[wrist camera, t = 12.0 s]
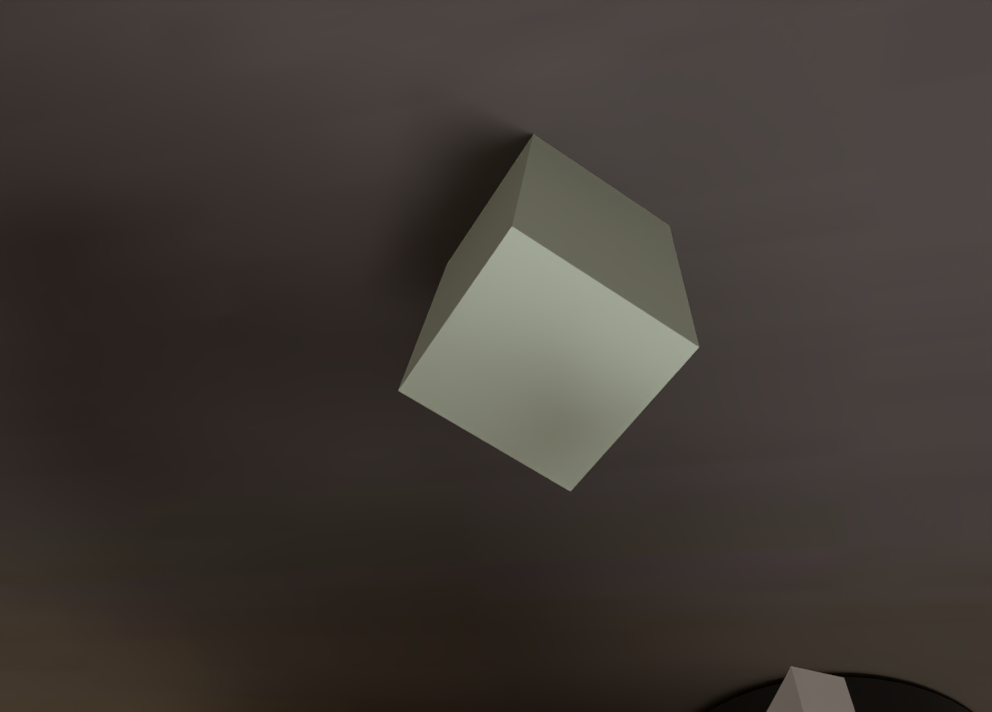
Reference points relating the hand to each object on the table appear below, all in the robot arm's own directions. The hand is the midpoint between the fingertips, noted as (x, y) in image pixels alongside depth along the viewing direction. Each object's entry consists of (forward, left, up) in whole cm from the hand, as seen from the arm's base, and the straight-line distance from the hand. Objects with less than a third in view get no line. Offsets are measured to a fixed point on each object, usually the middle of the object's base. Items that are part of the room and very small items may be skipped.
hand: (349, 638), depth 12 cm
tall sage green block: (0, -2, -17) cm, 17 cm away
